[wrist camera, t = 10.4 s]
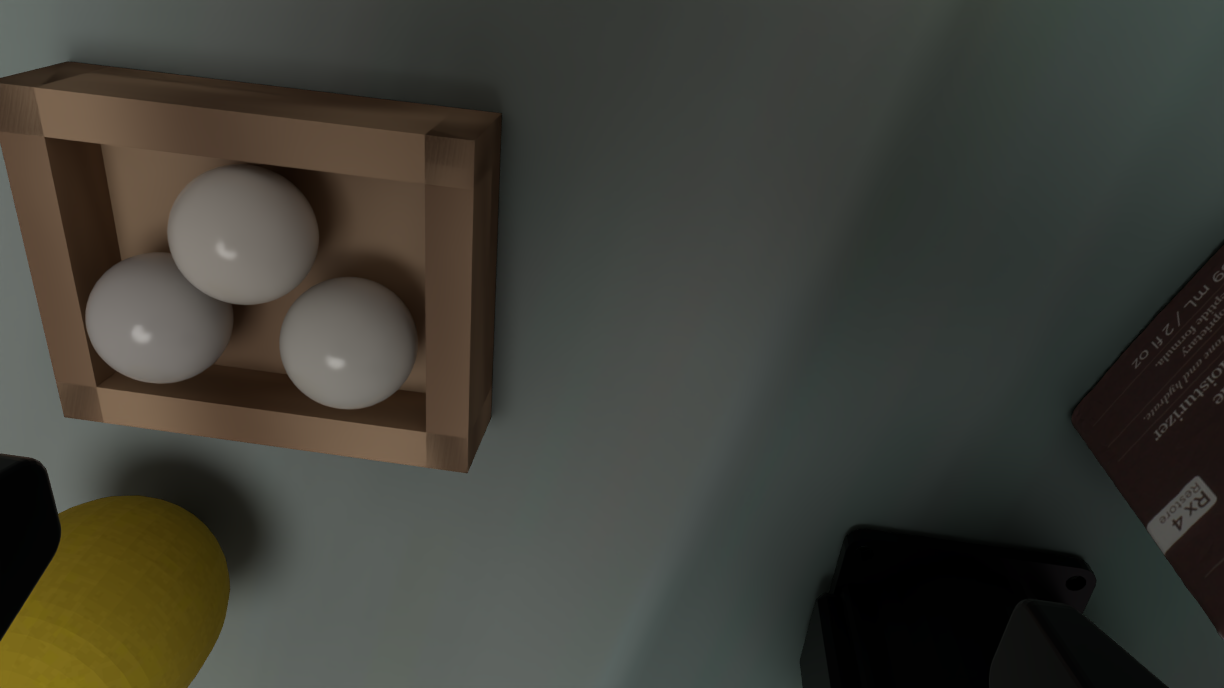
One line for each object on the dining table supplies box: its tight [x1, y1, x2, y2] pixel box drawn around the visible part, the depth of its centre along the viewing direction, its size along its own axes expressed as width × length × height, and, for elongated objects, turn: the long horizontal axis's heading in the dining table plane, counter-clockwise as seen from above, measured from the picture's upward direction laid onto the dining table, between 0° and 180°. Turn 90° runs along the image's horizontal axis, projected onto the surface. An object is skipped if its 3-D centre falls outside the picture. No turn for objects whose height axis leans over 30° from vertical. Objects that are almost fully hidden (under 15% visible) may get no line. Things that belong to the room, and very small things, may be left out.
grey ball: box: [167, 164, 319, 305], centre depth 19 cm, size 3×3×3 cm
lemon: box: [0, 495, 230, 688], centre depth 22 cm, size 6×6×8 cm
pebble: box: [85, 252, 234, 384], centre depth 20 cm, size 3×3×3 cm
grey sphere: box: [279, 277, 418, 410], centre depth 20 cm, size 3×3×3 cm
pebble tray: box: [0, 62, 502, 473], centre depth 20 cm, size 10×8×2 cm
